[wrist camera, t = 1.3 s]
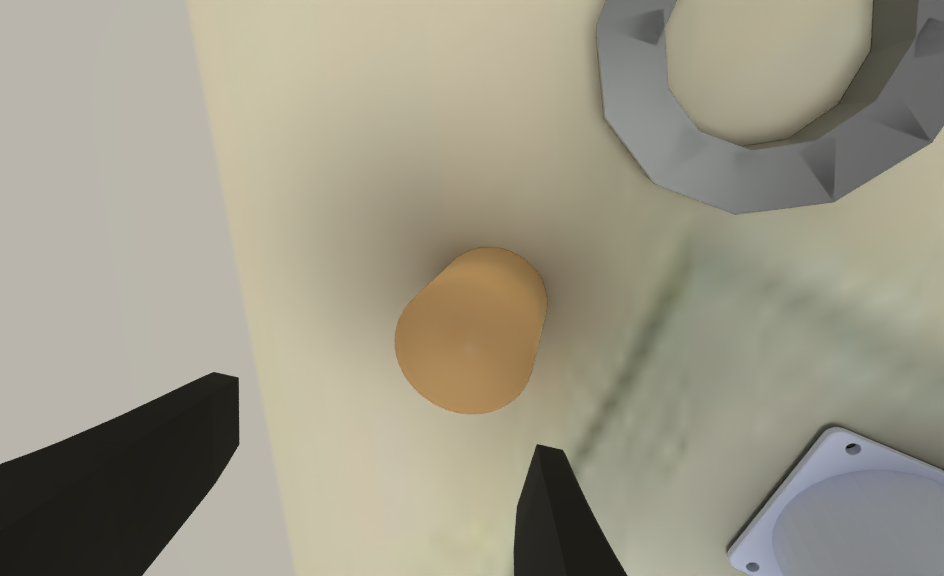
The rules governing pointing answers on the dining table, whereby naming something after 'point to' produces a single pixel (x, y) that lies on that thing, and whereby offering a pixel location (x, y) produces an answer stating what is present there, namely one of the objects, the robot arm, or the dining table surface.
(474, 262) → the cap
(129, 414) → the robot arm
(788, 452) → the dining table surface
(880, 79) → the barrel ring
